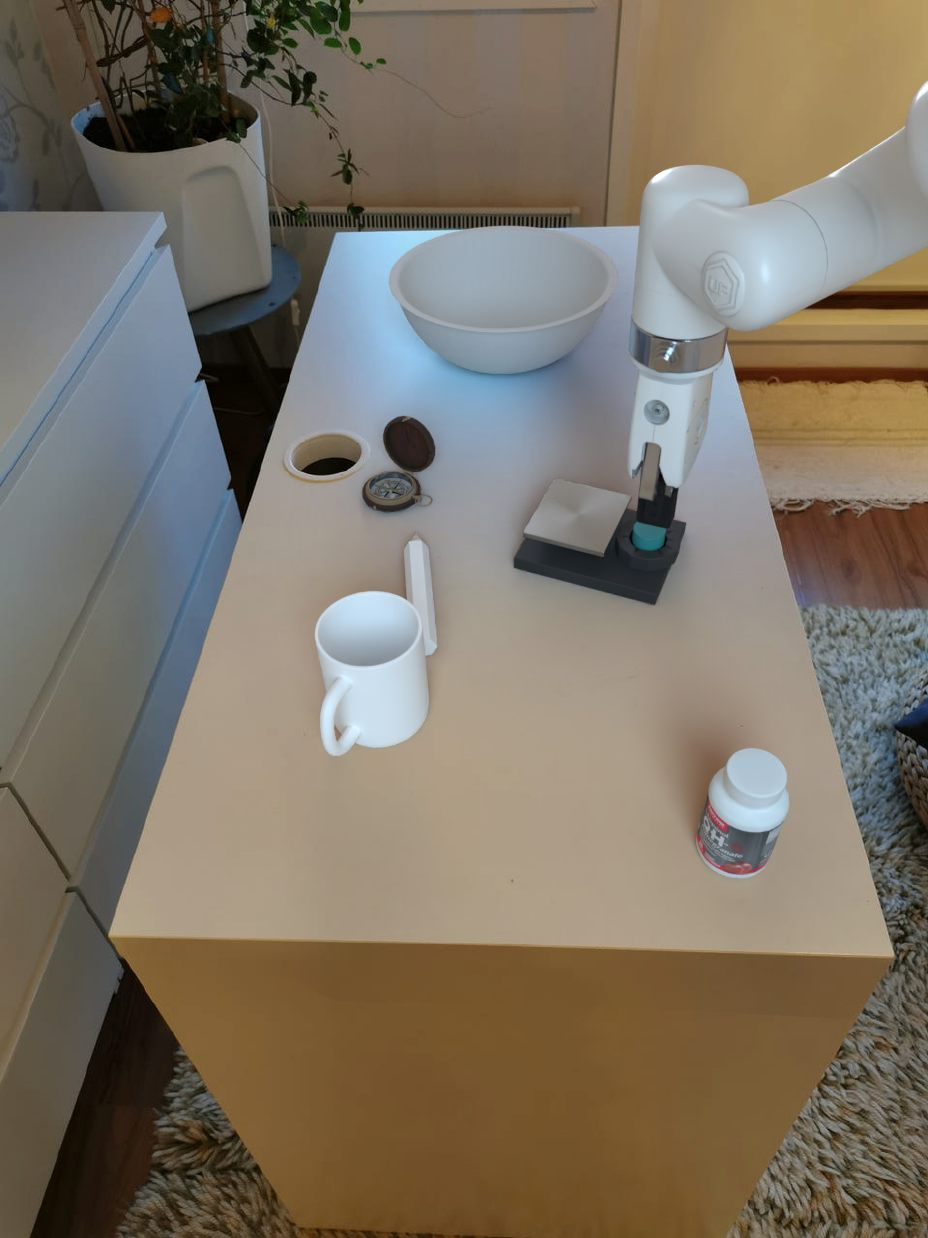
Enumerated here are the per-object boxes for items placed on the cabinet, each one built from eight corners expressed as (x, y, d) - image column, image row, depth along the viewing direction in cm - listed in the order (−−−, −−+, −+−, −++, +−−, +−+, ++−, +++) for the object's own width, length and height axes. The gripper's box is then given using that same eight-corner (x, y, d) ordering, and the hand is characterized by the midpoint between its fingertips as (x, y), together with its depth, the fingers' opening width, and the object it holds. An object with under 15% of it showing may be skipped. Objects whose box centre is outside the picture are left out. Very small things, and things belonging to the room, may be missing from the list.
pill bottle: (682, 858, 70) (702, 781, 63) (712, 805, 73) (733, 726, 66) (753, 894, 67) (782, 819, 60) (780, 838, 70) (810, 760, 63)
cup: (446, 691, 81) (440, 607, 74) (380, 800, 74) (366, 719, 67) (362, 663, 84) (348, 579, 77) (289, 765, 77) (266, 683, 69)
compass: (351, 503, 100) (342, 446, 95) (392, 463, 104) (386, 406, 99) (415, 527, 97) (410, 469, 92) (455, 484, 101) (452, 427, 96)
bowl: (623, 407, 111) (631, 328, 103) (389, 413, 111) (381, 335, 104) (600, 295, 130) (605, 222, 123) (401, 301, 130) (394, 228, 123)
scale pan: (631, 500, 93) (632, 495, 93) (603, 557, 88) (604, 552, 87) (554, 482, 96) (554, 477, 95) (522, 537, 90) (522, 532, 90)
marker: (417, 543, 96) (428, 659, 85) (398, 537, 95) (406, 653, 84) (429, 525, 95) (441, 640, 83) (410, 518, 94) (419, 634, 82)
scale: (689, 534, 95) (693, 510, 93) (659, 606, 88) (663, 583, 86) (551, 501, 99) (552, 478, 97) (513, 568, 92) (513, 544, 90)
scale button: (667, 535, 91) (669, 522, 90) (659, 554, 89) (661, 542, 88) (637, 527, 92) (638, 515, 90) (628, 546, 90) (629, 534, 89)
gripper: (702, 395, 69) (674, 581, 82) (745, 303, 79) (713, 483, 92) (603, 377, 71) (590, 561, 84) (656, 290, 81) (638, 467, 94)
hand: (655, 520), depth 88 cm, fingers closed
